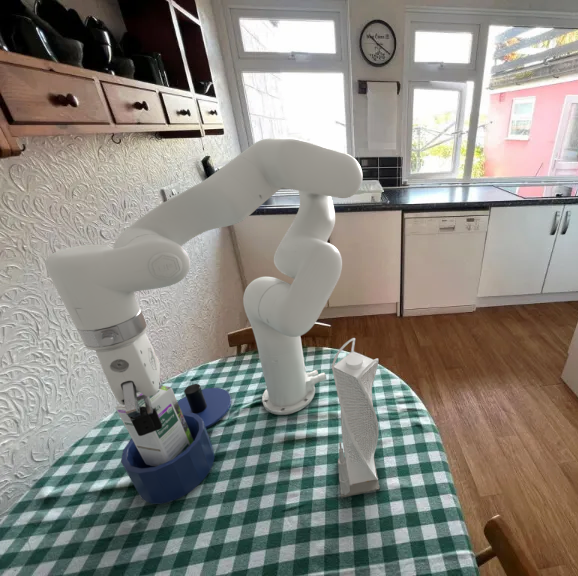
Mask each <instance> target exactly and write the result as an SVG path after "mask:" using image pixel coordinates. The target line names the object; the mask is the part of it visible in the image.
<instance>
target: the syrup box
mask: <svg viewBox="0 0 578 576" xmlns="http://www.w3.org/2000/svg"><path fill="white" fill-rule="evenodd" d="M136 395H137V397H138V396H141V395H144V394H142V393H141V392H137V393H136ZM149 397H150V401H151V405H152V409H154V408H155V409H156V411H157V414H158V416H159V418H160V421H161V423H162V428H161V429H159V430H156V431H153V432H151V433H148V434H145V435H143V436H139V435H138V434H137V432H136V429H135V427H134V425H133V423H132V421H131V420H130V418H129V416H128V415H127V414H126V411H125V405H122V404H120V403H118V405H116V406H115V410H116V412H117V414H118V416H119V418H120V419H121V421H122V423H123V425H124V427H125V428H126V430H127V433H128V434H129V436H130V439H131V438H132V440H133V442H134V443H135V445H136V447H137V449H138V451H139V453H140V455H141V456H142V458H143V460H144V462H145V464H147V465H151V466H155V467H156V466H159V465H161V464H164V463H166V462H168V461H171V460H173V459H174V458H175V457H177V456H178V455H180V454H181V453H183V452H184V451H185V450H186V449H187V448H188V447H189V446H190V445H191V444H192V443H193V441H194V440H193V438H192V435H191V433H190V431H189V428H188V426H187V424H186V421H185V419H184V416H183V414H182V411H181V409H180V407H179V404H178V399H177V397H176V394H175V392H174V390H173V388H172V387H171V386H168V385H163V384H160V385H159V389H158V392H157V393H156V395H154V396H153V395H152V396H149ZM137 402H138V405H139V406H140V407H142V406H143V407H146V406H145V402H144V399H142V400H139V401H137Z"/></svg>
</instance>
